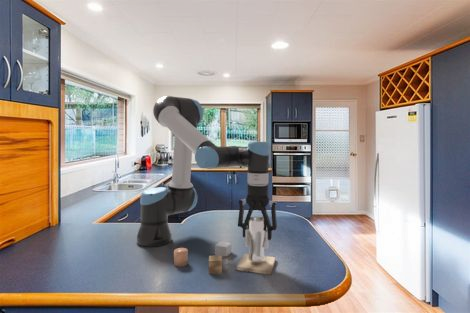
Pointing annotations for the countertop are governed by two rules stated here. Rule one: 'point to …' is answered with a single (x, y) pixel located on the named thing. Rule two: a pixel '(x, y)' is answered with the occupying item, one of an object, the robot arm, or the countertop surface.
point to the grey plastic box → (223, 248)
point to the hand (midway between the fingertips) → (256, 246)
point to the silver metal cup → (256, 238)
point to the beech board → (256, 265)
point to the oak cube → (215, 264)
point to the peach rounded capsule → (180, 257)
